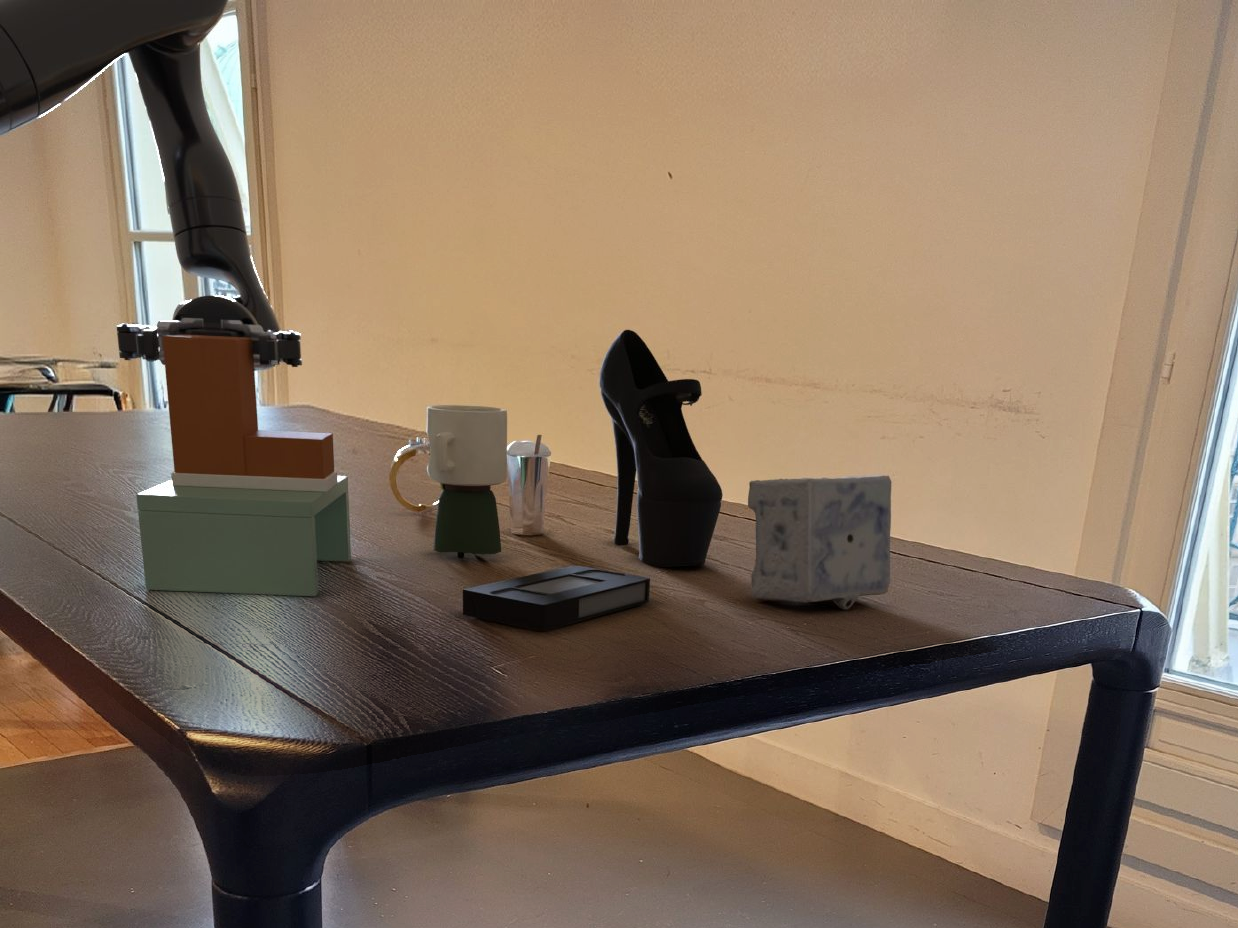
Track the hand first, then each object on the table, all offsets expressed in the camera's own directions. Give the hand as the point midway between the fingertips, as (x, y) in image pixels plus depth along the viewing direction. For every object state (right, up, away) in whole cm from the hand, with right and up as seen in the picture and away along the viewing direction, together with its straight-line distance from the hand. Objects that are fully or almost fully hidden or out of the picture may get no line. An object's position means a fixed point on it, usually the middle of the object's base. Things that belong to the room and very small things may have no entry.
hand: (207, 348), depth 100 cm
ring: (+10, -3, +40) cm, 42 cm away
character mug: (+18, -12, +19) cm, 28 cm away
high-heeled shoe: (+36, -11, +23) cm, 44 cm away
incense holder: (+48, -19, +7) cm, 52 cm away
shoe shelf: (+2, -16, +7) cm, 18 cm away
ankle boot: (+3, -10, +4) cm, 11 cm away
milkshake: (+22, -7, +32) cm, 39 cm away
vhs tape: (+28, -21, 0) cm, 34 cm away
